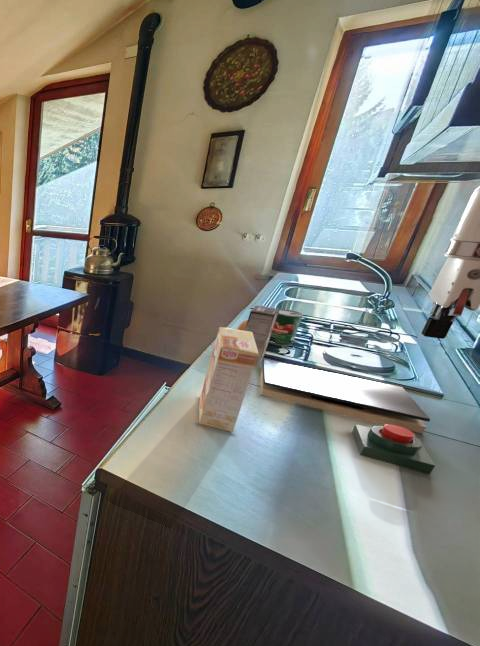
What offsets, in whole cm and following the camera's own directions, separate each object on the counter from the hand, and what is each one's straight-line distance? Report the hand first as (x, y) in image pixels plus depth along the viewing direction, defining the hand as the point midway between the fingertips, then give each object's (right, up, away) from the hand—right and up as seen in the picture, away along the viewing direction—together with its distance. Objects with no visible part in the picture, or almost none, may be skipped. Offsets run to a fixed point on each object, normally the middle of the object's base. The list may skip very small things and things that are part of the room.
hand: (432, 336), depth 85 cm
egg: (-5, -1, +51) cm, 51 cm away
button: (-13, -21, -5) cm, 25 cm away
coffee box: (-10, -5, +40) cm, 42 cm away
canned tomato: (+9, 0, +53) cm, 54 cm away
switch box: (-14, -24, -3) cm, 28 cm away
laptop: (-6, -15, +18) cm, 24 cm away
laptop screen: (-6, -13, +17) cm, 22 cm away
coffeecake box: (-41, -19, +10) cm, 46 cm away
